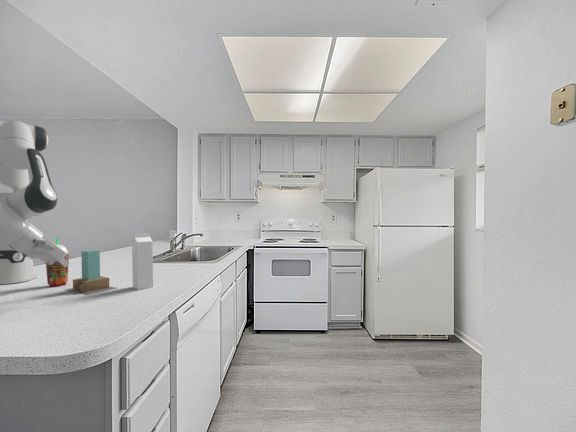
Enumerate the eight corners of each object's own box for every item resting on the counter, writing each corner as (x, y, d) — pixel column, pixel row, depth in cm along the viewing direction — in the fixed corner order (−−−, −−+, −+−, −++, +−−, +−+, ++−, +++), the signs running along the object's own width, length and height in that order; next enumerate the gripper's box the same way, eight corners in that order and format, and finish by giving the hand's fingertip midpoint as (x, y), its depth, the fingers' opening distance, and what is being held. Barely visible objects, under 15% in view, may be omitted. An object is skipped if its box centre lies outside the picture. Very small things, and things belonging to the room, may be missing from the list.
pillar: (81, 279, 130) (81, 251, 130) (93, 277, 134) (93, 249, 134) (88, 280, 128) (87, 251, 128) (100, 278, 132) (99, 250, 132)
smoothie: (49, 289, 132) (48, 239, 132) (42, 286, 137) (41, 237, 137) (73, 285, 139) (72, 237, 138) (65, 282, 144) (64, 236, 143)
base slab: (73, 289, 129) (72, 279, 129) (96, 285, 137) (96, 275, 137) (86, 292, 125) (85, 282, 125) (109, 287, 133) (109, 277, 133)
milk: (153, 288, 134) (152, 233, 133) (137, 290, 130) (137, 234, 129) (147, 285, 138) (147, 232, 138) (132, 287, 134) (131, 233, 134)
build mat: (64, 290, 130) (64, 289, 130) (94, 284, 140) (94, 283, 140) (87, 296, 122) (87, 294, 122) (118, 289, 132) (118, 288, 132)
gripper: (50, 233, 109) (82, 259, 118) (21, 231, 119) (52, 255, 128) (35, 248, 105) (68, 274, 114) (6, 245, 115) (39, 269, 124)
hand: (59, 264), depth 121 cm, fingers open, 8 cm apart
